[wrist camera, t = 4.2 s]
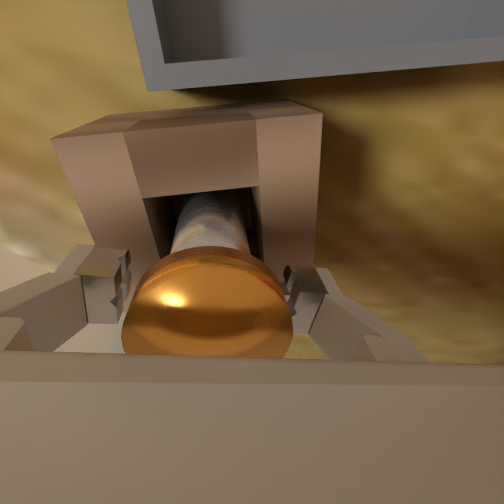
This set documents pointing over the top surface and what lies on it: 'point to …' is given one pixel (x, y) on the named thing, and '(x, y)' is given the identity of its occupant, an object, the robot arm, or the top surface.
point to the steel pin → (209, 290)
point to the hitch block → (198, 177)
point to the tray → (307, 38)
